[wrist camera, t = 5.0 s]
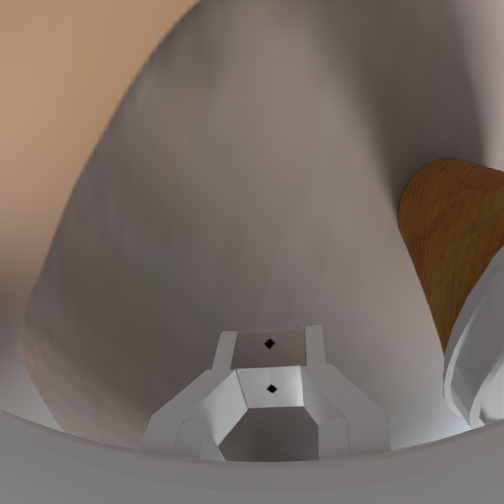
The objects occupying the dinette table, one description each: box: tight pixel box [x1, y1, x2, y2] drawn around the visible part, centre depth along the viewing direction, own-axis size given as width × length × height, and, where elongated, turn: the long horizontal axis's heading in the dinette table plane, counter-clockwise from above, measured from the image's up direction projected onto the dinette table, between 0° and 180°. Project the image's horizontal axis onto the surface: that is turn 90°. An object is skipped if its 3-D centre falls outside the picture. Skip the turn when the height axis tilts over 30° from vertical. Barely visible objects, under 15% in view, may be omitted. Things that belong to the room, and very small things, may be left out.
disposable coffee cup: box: [398, 159, 504, 430], centre depth 11 cm, size 10×10×12 cm
